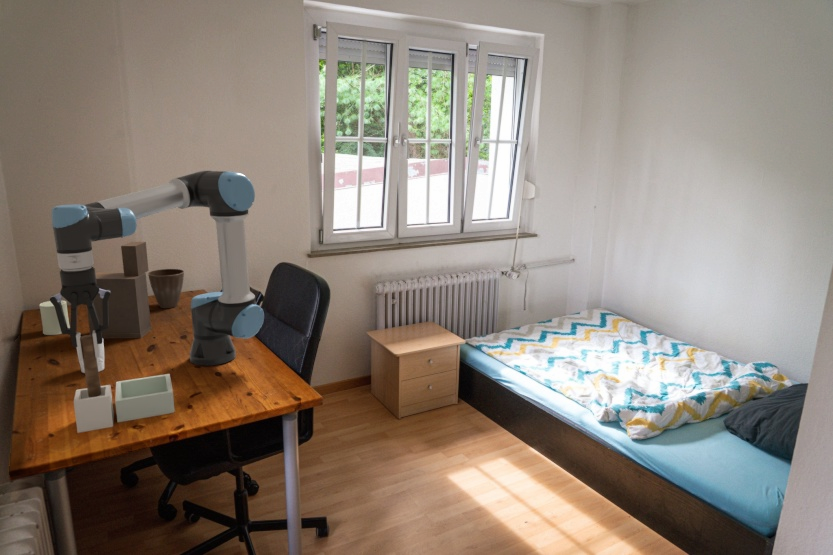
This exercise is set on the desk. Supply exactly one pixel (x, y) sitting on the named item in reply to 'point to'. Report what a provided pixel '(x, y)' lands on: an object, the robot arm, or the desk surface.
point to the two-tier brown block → (125, 296)
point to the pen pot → (93, 410)
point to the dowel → (90, 366)
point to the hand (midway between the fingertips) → (89, 356)
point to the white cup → (99, 360)
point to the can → (52, 318)
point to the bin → (144, 397)
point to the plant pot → (167, 286)
